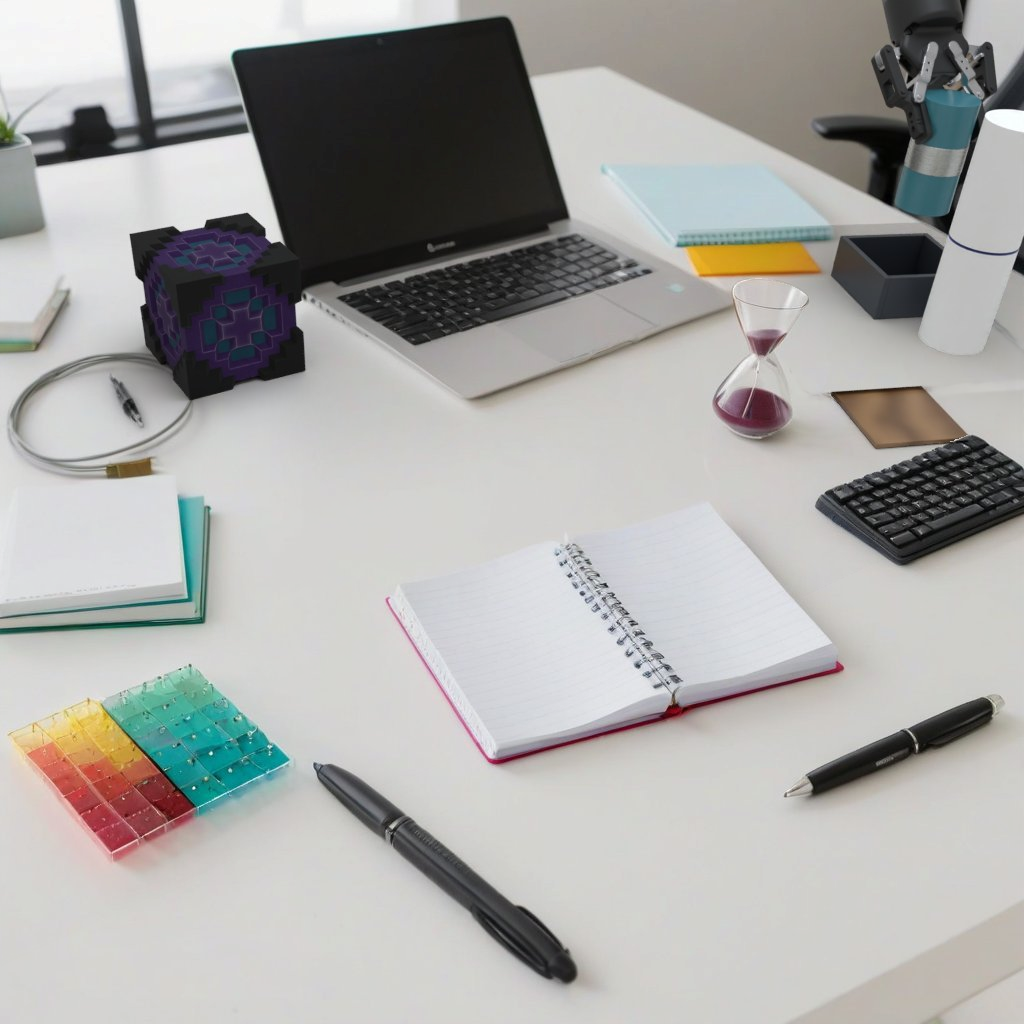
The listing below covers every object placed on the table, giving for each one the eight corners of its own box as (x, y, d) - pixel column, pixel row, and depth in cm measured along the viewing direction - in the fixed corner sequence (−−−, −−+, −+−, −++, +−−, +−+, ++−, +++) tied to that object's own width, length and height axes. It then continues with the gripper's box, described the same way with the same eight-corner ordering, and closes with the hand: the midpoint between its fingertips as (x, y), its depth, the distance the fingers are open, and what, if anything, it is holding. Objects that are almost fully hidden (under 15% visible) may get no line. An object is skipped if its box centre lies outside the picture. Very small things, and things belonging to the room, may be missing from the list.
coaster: (918, 388, 120) (920, 384, 120) (969, 441, 112) (970, 437, 112) (830, 394, 118) (831, 390, 118) (875, 448, 110) (877, 444, 110)
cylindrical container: (916, 356, 125) (988, 127, 110) (914, 327, 131) (982, 105, 116) (984, 367, 124) (1066, 138, 109) (979, 337, 130) (1056, 115, 115)
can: (932, 194, 132) (963, 88, 125) (960, 216, 127) (993, 106, 120) (884, 196, 131) (912, 88, 124) (910, 217, 126) (940, 107, 119)
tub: (913, 278, 142) (927, 232, 138) (961, 322, 133) (977, 274, 129) (828, 282, 139) (840, 235, 136) (871, 327, 130) (885, 278, 127)
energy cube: (189, 400, 109) (175, 284, 102) (145, 345, 117) (129, 233, 110) (305, 370, 115) (299, 258, 108) (256, 319, 123) (247, 212, 116)
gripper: (880, -27, 119) (914, 126, 117) (997, -29, 123) (1031, 120, 121) (842, 14, 126) (873, 159, 124) (953, 11, 130) (985, 152, 128)
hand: (951, 139), depth 123 cm, fingers closed on can, 6 cm apart
